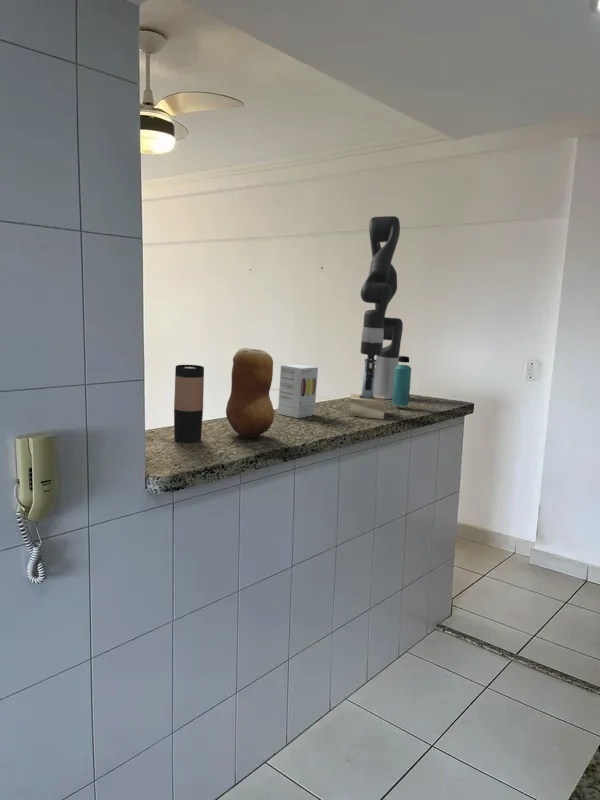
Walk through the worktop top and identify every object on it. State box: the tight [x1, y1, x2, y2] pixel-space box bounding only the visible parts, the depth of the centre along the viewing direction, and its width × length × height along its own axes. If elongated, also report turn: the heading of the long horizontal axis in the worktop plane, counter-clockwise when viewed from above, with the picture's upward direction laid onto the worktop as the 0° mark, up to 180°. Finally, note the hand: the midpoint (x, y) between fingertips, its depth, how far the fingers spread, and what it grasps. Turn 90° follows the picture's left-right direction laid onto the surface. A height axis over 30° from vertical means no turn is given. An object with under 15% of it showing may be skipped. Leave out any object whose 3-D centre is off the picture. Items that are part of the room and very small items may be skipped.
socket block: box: [348, 393, 386, 420], centre depth 211 cm, size 12×12×6 cm
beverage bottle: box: [391, 355, 412, 407], centre depth 225 cm, size 6×7×20 cm
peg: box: [361, 366, 375, 399], centre depth 209 cm, size 4×4×12 cm
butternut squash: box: [225, 347, 275, 440], centre depth 166 cm, size 14×13×25 cm
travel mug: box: [173, 364, 205, 444], centre depth 159 cm, size 8×8×20 cm
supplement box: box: [277, 363, 319, 419], centre depth 201 cm, size 10×9×17 cm
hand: (368, 388), depth 210 cm, fingers closed on peg, 4 cm apart
